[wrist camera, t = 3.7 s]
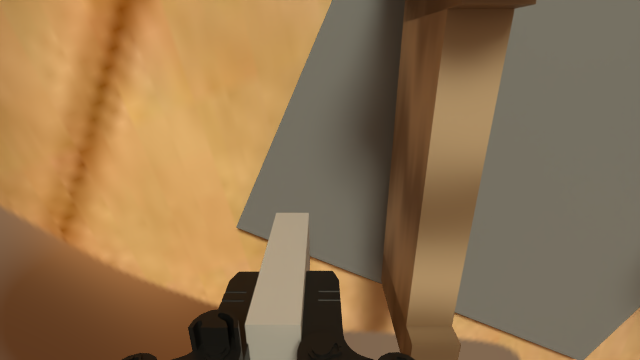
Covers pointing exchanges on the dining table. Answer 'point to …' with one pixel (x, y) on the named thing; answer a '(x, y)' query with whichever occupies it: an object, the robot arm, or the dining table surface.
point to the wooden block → (439, 161)
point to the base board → (498, 171)
